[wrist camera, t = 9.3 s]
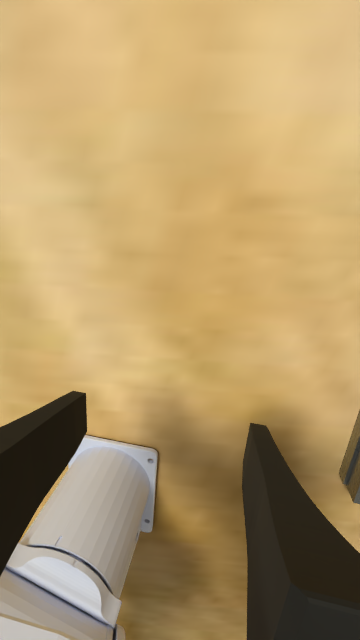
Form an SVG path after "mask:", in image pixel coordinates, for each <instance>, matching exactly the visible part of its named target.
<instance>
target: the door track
mask: <svg viewBox="0 0 360 640" xmlns="http://www.w3.org/2000/svg"><path fill="white" fill-rule="evenodd" d="M339 474H340V477H341V479H342V482H343V484H346V485H347V488H348V490H349V493H350V495H351V498H352V500H353V503H358V504H360V411H359V414H358V417H357V420H356V423H355V426H354V429H353V432H352V435H351V438H350V441H349V444H348V447H347V450H346V453H345V456H344V459H343V462H342V465H341V468H340V471H339Z"/></svg>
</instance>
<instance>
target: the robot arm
mask: <svg viewBox="0 0 360 640" xmlns="http://www.w3.org/2000/svg"><path fill="white" fill-rule="evenodd" d="M86 432H87V415H86V393H81V392H76V391H72V392H70V393H68V394H66V395H64V396H62V397H60V398H58V399H56V400H54V401H52V402H51V403H49V404H47V405H45V406H43V407H41V408H39V409H37V410H35V411H34V412H32V413H30V414H28V415H25V416H23V417H21V418H19V419H17V420H15V421H13V422H11V423H9V424H7V425H4V426H2V427H0V640H126V636H125V630H124V628H123V627H122V626H120V625H118V624H116V621H117V617H118V614H119V611H120V607H121V604H122V602H121V600H119V598H120V596H121V592H122V589H123V586H124V583H125V579H126V576H127V573H128V570H129V567H130V563H131V560H132V557H133V554H134V551H135V547H136V544H137V541H138V538H139V534H140V531H142V532H147V533H149V532H151V531H152V528H153V518H154V504H155V489H156V474H157V460H158V453H157V451H156V450H155V449H152V448H147V447H142V446H137V445H132V444H127V443H122V442H117V441H112V440H107V439H102V438H97V437H92V436H88V435H85V434H86ZM150 459H153V460H150ZM67 465H69V469H68V471H67V472H66V474H65V475H64V477H63V478H62V480H61V481H60V483H59V484H58V486H57V487H56V489H55V490H54V492H53V493H52V495H51V496H50V498H49V499H48V501H47V502H46V504H45V505H44V507H43V508H42V510H41V511H40V513H39V514H38V516H37V517H36V519H35V520H34V522H33V523H32V525H31V526H30V528H29V529H28V530H27V532H26V533H25V535H24V536H23V538H22V539H21V541H20V542H19V540H20V538H21V537H22V535H23V533H24V531H25V529H26V528H27V526H28V524H29V522H30V521H31V519H32V517H33V515H34V514H35V512H36V510H37V508H38V507H39V505H40V504H41V502H42V501H43V499H44V497H45V496H46V495H47V493H48V492H49V490H50V489H51V487H52V486H53V485H54V483H55V482H56V480H57V479H58V477H59V476H60V475H61V473H62V472H63V470H64V469H65V467H66V466H67ZM242 490H243V503H244V515H245V527H246V539H247V557H248V587H247V640H360V553H359V552H358V551H357V550H356V549H355V548H354V547H353V546H352V545H351V544H350V543H349V542H348V541H347V540H346V539H345V538H344V537H343V536H342V535H341V534H340V533H339V532H338V531H337V530H336V529H335V527H334V526H333V525H332V524H331V523H330V522H329V521H328V520H327V519H326V518H325V516H324V515H323V514H322V513H321V512H320V510H319V509H318V508H317V507H316V505H315V504H314V503H313V502H312V500H311V499H310V498H309V496H308V495H307V494H306V492H305V491H304V489H303V488H302V487H301V485H300V484H299V482H298V481H297V479H296V478H295V476H294V475H293V473H292V472H291V470H290V468H289V467H288V465H287V463H286V462H285V460H284V458H283V457H282V455H281V453H280V451H279V450H278V448H277V446H276V444H275V442H274V440H273V438H272V436H271V434H270V432H269V430H268V428H267V427H266V426H265V425H259V424H254V423H250V428H249V433H248V438H247V444H246V449H245V454H244V459H243V477H242ZM18 542H19V543H18Z"/></svg>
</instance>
